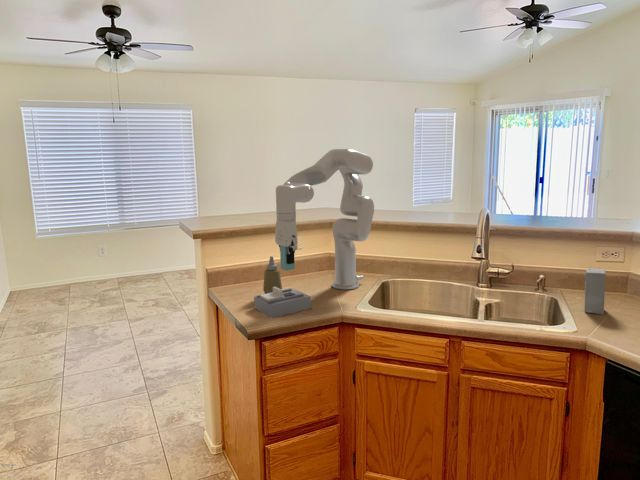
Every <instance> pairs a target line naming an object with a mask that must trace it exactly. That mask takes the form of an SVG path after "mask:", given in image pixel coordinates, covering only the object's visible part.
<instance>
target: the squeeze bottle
mask: <svg viewBox="0 0 640 480" xmlns="http://www.w3.org/2000/svg"><path fill="white" fill-rule="evenodd" d="M265 267H266V269H264V272H263V273H264V275H263V294H267V293H271V292H273V287H277V288H279V289H282V290H283V287H282V284H283V283H282V278H281V272H280V271H281V270H280V269H278V264H277V263H275V259H274V256H270V257H269V261H268V263H267V264H266V266H265Z"/></svg>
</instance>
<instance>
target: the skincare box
mask: <svg viewBox="0 0 640 480" xmlns="http://www.w3.org/2000/svg"><path fill="white" fill-rule="evenodd" d="M606 271H607V269H601V268H600V269H598V268H597V269H596V268H586V270H585V279H584V280H585V281H584V313H589V314H597V315H604V313H605V291H606V276H607V275H606Z"/></svg>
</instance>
